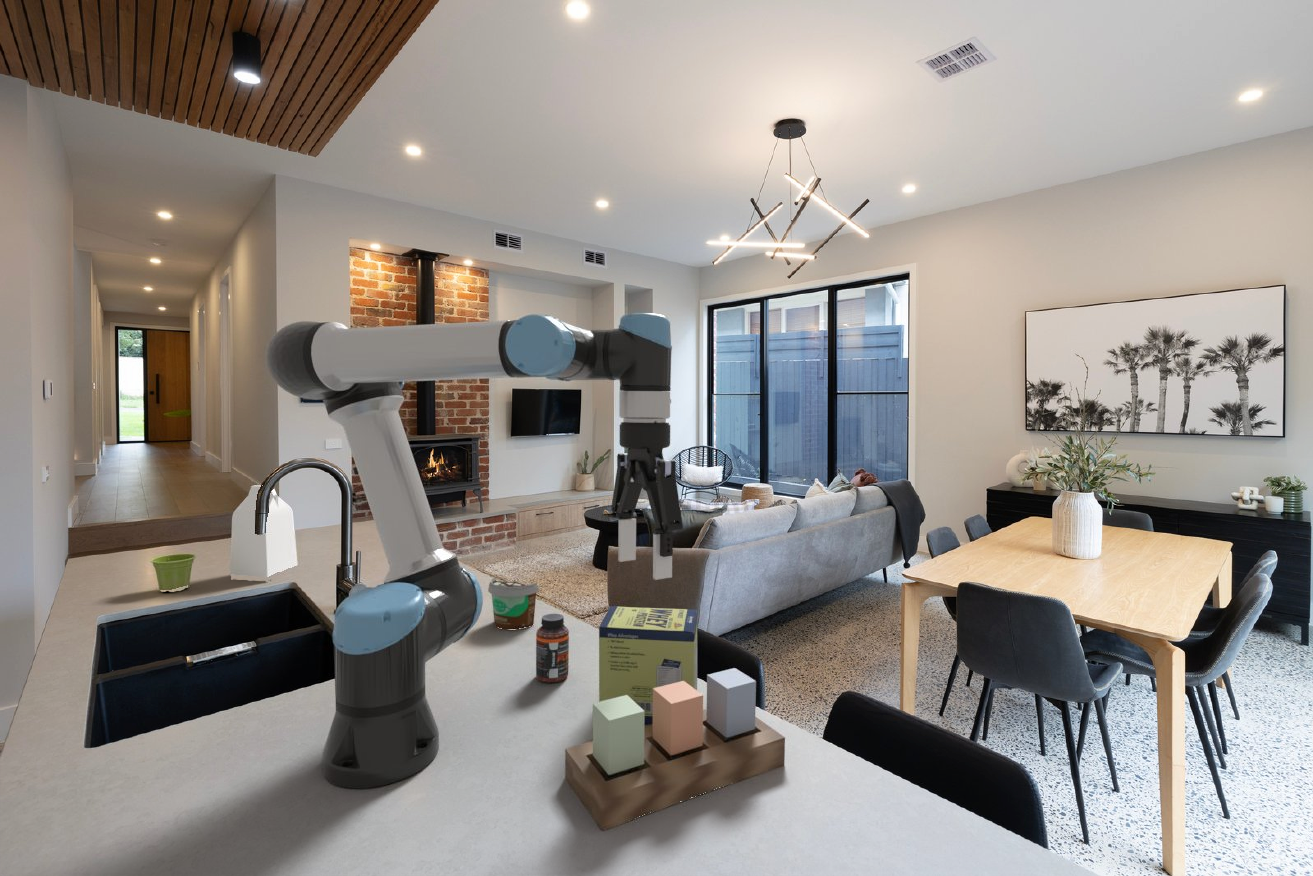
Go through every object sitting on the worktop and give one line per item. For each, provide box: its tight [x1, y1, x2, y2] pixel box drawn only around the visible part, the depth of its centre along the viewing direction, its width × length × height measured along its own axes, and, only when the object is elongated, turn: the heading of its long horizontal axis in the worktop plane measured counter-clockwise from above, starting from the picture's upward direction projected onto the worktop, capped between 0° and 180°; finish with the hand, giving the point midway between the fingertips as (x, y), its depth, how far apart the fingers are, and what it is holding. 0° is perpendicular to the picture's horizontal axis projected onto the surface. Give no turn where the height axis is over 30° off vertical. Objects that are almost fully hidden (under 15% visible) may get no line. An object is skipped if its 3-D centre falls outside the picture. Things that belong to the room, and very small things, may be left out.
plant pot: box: [150, 553, 197, 591], centre depth 164 cm, size 9×9×9 cm
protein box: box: [598, 605, 698, 726], centre depth 102 cm, size 10×16×16 cm
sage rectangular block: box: [592, 695, 645, 775], centre depth 80 cm, size 5×5×7 cm
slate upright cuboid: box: [706, 667, 757, 738], centre depth 89 cm, size 5×5×7 cm
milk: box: [229, 484, 299, 577], centre depth 178 cm, size 12×12×26 cm
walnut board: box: [564, 708, 786, 832], centre depth 85 cm, size 28×12×4 cm, turn 119°
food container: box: [487, 576, 540, 630], centre depth 139 cm, size 12×6×10 cm, turn 68°
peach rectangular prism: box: [652, 681, 704, 755], centre depth 85 cm, size 5×5×7 cm
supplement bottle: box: [535, 613, 570, 684], centre depth 114 cm, size 6×6×11 cm
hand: (643, 568), depth 93 cm, fingers open, 10 cm apart
